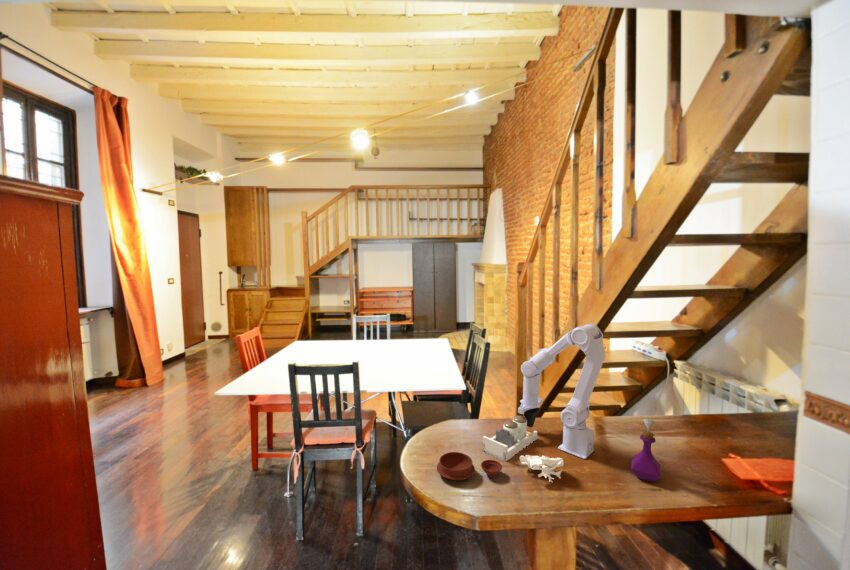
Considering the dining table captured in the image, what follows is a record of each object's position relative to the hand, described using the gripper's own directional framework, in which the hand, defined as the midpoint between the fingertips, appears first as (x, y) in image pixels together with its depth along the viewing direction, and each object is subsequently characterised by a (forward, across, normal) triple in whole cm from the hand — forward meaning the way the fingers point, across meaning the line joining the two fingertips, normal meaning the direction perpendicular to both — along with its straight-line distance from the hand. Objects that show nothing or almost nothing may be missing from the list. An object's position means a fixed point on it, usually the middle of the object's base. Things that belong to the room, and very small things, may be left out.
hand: (529, 426), depth 139 cm
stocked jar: (+1, +14, 0) cm, 14 cm away
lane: (+2, +13, 0) cm, 13 cm away
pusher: (+1, +17, 0) cm, 17 cm away
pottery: (+3, +38, 0) cm, 38 cm away
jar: (+1, +8, 0) cm, 8 cm away
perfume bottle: (+2, 0, +39) cm, 39 cm away
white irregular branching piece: (+2, +21, +16) cm, 27 cm away
